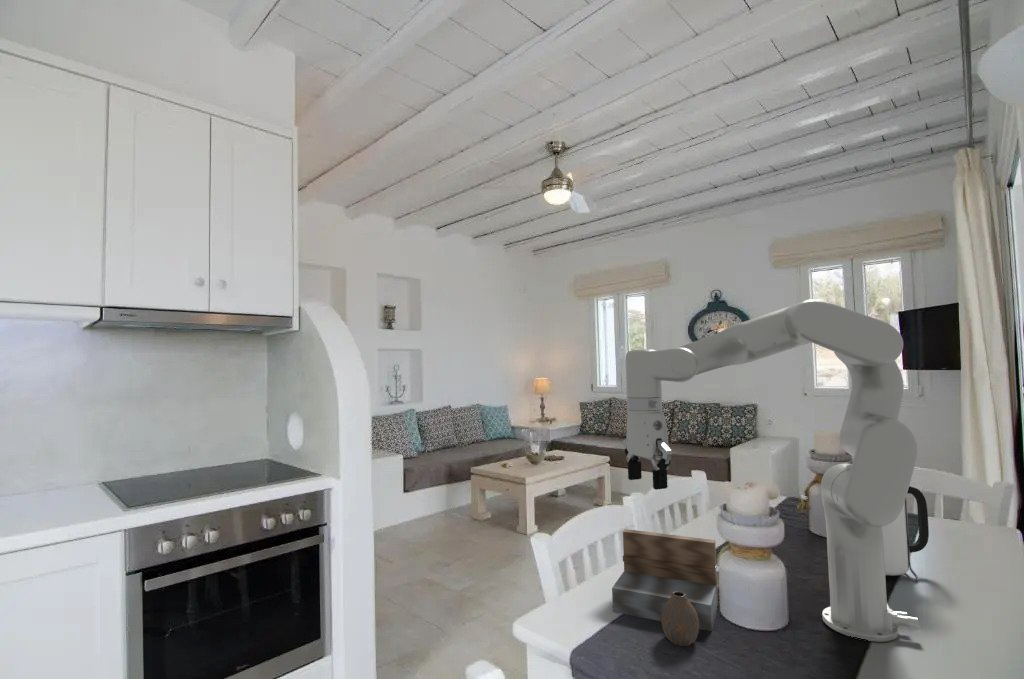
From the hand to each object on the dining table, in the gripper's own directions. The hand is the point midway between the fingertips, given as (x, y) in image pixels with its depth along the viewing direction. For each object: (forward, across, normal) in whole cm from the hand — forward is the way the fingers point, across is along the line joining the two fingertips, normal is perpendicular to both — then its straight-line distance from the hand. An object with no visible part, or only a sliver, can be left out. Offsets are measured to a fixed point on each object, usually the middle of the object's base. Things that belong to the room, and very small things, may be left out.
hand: (647, 483), depth 113 cm
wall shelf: (+27, -1, -3) cm, 27 cm away
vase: (+27, -13, +2) cm, 30 cm away
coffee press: (+27, -5, -64) cm, 69 cm away
